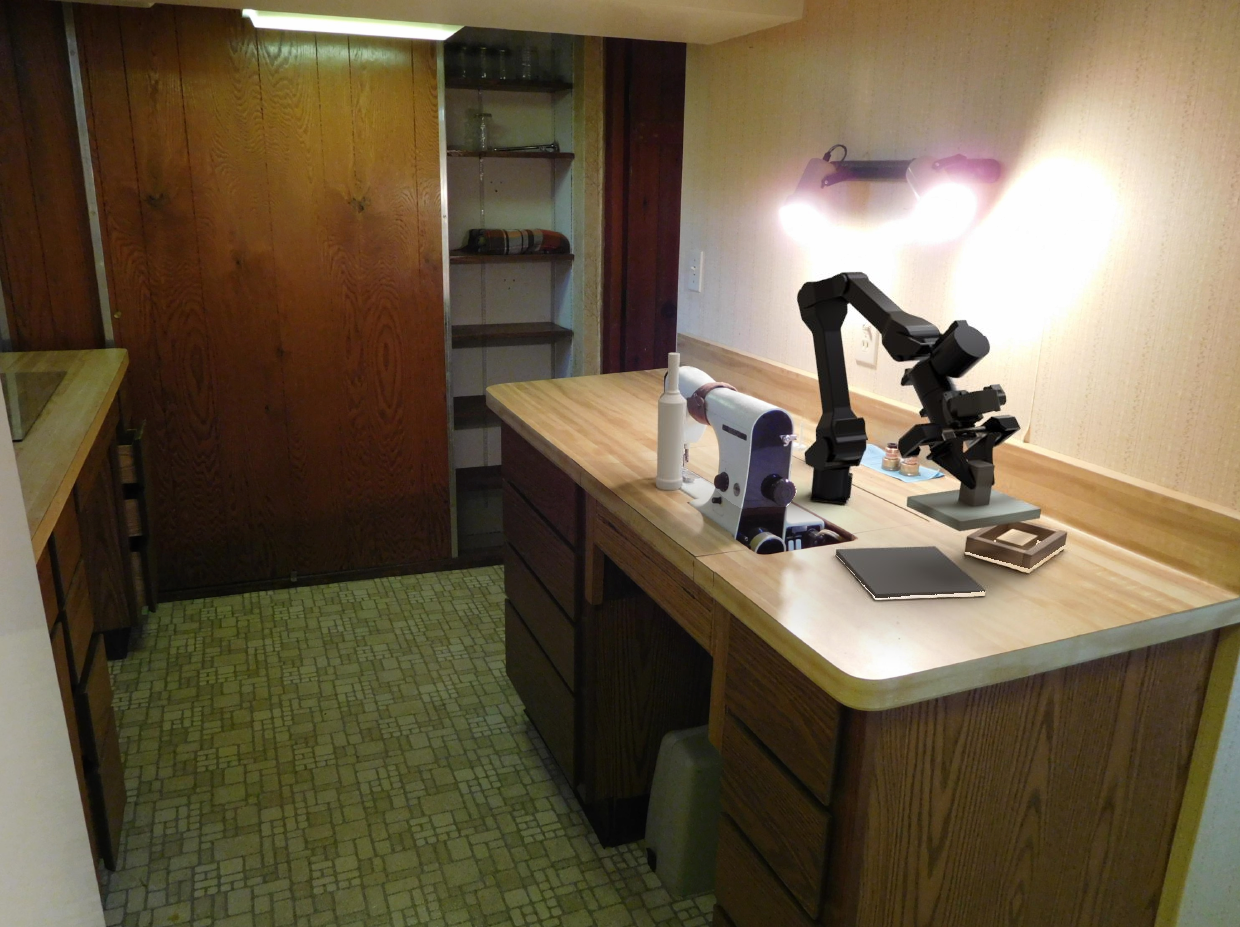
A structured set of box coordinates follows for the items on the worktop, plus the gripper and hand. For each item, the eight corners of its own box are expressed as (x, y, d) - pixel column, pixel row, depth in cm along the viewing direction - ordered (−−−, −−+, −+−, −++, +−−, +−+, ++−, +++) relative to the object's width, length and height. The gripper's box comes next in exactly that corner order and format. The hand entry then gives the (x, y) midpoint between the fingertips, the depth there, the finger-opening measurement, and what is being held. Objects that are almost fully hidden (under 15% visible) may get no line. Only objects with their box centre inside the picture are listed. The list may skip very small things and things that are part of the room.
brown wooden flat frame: (964, 554, 144) (966, 536, 143) (1002, 532, 153) (1005, 515, 152) (1028, 573, 137) (1031, 555, 136) (1064, 549, 147) (1067, 531, 146)
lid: (906, 506, 138) (912, 458, 135) (983, 494, 143) (990, 448, 141) (959, 531, 128) (966, 480, 126) (1039, 518, 134) (1048, 468, 132)
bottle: (650, 487, 171) (654, 354, 164) (662, 480, 176) (667, 350, 168) (675, 492, 169) (681, 357, 162) (687, 484, 173) (693, 353, 166)
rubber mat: (835, 555, 142) (836, 549, 142) (934, 552, 144) (935, 546, 144) (875, 600, 127) (876, 593, 127) (985, 596, 129) (986, 590, 129)
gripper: (920, 369, 129) (966, 467, 123) (1020, 361, 136) (1069, 454, 130) (878, 410, 138) (919, 503, 132) (974, 401, 146) (1017, 489, 139)
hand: (982, 487), depth 133 cm, fingers closed on lid, 3 cm apart
